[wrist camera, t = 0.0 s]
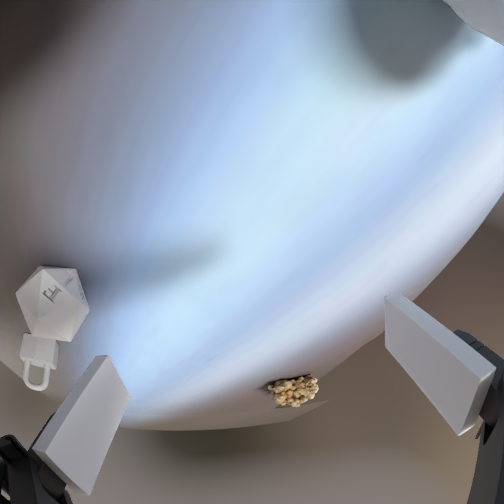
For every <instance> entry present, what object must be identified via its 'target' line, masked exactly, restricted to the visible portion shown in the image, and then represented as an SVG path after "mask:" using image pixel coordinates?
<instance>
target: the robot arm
mask: <svg viewBox="0 0 504 504" xmlns="http://www.w3.org/2000/svg"><path fill="white" fill-rule="evenodd" d="M384 301H385V347H386V348H387V349H388V350H389V351H390V353H391V354H392V355H393V356H394V357H395V359H396V360H397V361H398V362H399V363H400V364H401V366H402V367H403V368H404V369H405V371H406V372H407V373H408V374H409V375H410V377H411V378H412V379H413V380H414V381H415V383H416V384H417V385H418V386H419V387H420V389H421V390H422V391H423V392H424V393H425V395H426V396H427V397H428V399H429V400H430V401H431V402H432V403H433V405H434V406H435V407H436V408H437V410H438V411H439V412H440V414H441V415H442V416H443V417H444V419H445V420H446V421H447V422H448V423H449V425H450V426H451V427H452V429H453V430H454V431H455V433H456V434H457V435H458V436H460V435H461V434H463V433H464V432H466V431H467V430H469V429H470V428H472V427H473V426H474V425H475V423H476V421H477V419H478V416H479V415H480V416H481V417H482V419H483V420H484V421H483V423H482V425H481V427H480V429H479V431H478V433H477V435H476V438H475V439H478V437H479V436H480V434H481V436H480V444H479V451H478V457H477V464H476V468H475V473H474V478H473V482H472V486H471V491H470V494H469V498H468V502H467V504H504V360H503V359H502V358H501V357H499V356H498V355H497V354H496V353H494V352H493V351H492V350H490V349H489V348H488V347H486V346H484V344H483V343H481V342H480V341H477V339H476V338H474V337H473V336H472V335H470V334H469V333H466V332H463V331H460V330H456V331H455V332H451V331H450V330H449V329H447V328H446V327H445V326H443V325H442V324H441V323H439V322H438V321H437V320H435V319H434V318H433V317H431V316H430V315H429V314H427V313H426V312H425V311H423V310H422V309H421V308H419V307H418V306H416V305H415V304H414V303H412V302H411V301H410V300H408V299H407V298H406V297H404V296H403V295H401V294H400V293H399V292H398V293H395V294H392V295H389V296H386V297H384ZM130 398H131V396H130V395H129V393H128V391H127V389H126V388H125V386H124V384H123V382H122V380H121V378H120V377H119V375H118V373H117V371H116V369H115V367H114V365H113V363H112V361H111V359H110V357H109V355H101V356H96V357H95V359H94V360H93V361H92V363H91V364H90V365H89V367H88V368H87V369H86V371H85V372H84V373H83V375H82V376H81V377H80V379H79V380H78V382H77V383H76V384H75V386H74V387H73V388H72V390H71V391H70V393H69V394H68V395H67V397H66V398H65V400H64V401H63V403H62V404H61V405H60V407H59V408H58V410H57V411H56V412H55V413H53V414H52V415H51V416H50V418H49V420H48V421H47V422H46V424H45V425H44V427H43V428H42V430H41V431H40V433H39V434H38V436H37V437H36V439H35V440H34V442H33V444H32V446H31V447H30V448H29V450H28V451H26V449H25V448H24V447H23V446H22V445H21V444H20V442H19V441H18V440H17V439H16V438H15V437H14V436H13V435H5V436H3V437H1V438H0V504H73V503H72V501H71V498H70V495H69V493H68V492H67V491H66V490H65V486H66V484H67V485H68V486H69V487H70V488H71V489H72V490H74V491H75V492H76V493H80V494H83V495H87V496H90V493H91V491H92V488H93V486H94V483H95V481H96V478H97V476H98V473H99V471H100V468H101V466H102V463H103V461H104V458H105V456H106V453H107V451H108V449H109V446H110V444H111V441H112V439H113V437H114V434H115V432H116V430H117V428H118V425H119V423H120V421H121V418H122V416H123V414H124V412H125V410H126V407H127V405H128V403H129V401H130ZM1 489H2V490H3V491H4V492H5V493H7V494H8V495H9V496H10V501H9V500H7V499H6V498H5V497H4V496H2V495H1Z"/></svg>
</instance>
